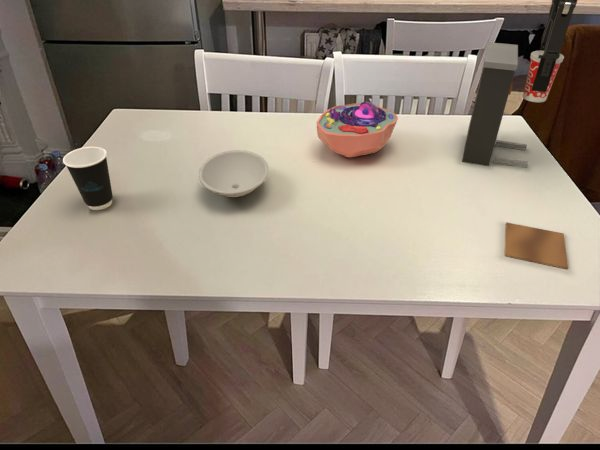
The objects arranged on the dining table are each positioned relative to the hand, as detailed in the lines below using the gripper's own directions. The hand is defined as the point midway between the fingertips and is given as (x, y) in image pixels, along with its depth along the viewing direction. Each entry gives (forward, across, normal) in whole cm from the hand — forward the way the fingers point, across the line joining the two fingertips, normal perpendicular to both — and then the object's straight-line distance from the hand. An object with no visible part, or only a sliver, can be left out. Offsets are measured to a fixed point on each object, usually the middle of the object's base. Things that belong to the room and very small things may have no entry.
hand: (538, 84), depth 97 cm
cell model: (+18, +7, -36) cm, 42 cm away
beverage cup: (+3, 0, 0) cm, 3 cm away
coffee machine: (+18, -3, -5) cm, 19 cm away
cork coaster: (+18, +31, +4) cm, 36 cm away
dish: (+18, +34, -55) cm, 67 cm away
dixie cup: (+18, +48, -79) cm, 94 cm away
